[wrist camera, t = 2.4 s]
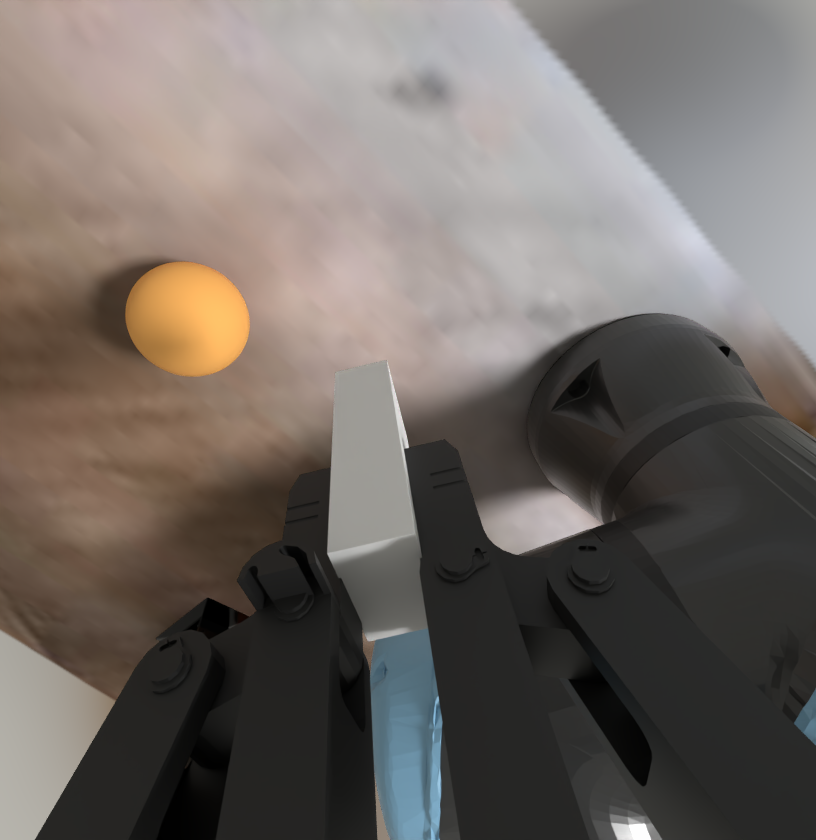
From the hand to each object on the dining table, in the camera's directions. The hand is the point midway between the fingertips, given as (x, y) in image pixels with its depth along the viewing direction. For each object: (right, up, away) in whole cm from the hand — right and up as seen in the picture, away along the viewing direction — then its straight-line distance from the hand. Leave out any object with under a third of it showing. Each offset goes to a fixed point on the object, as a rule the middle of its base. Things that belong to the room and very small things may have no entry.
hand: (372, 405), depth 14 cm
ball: (-11, +5, +11) cm, 16 cm away
